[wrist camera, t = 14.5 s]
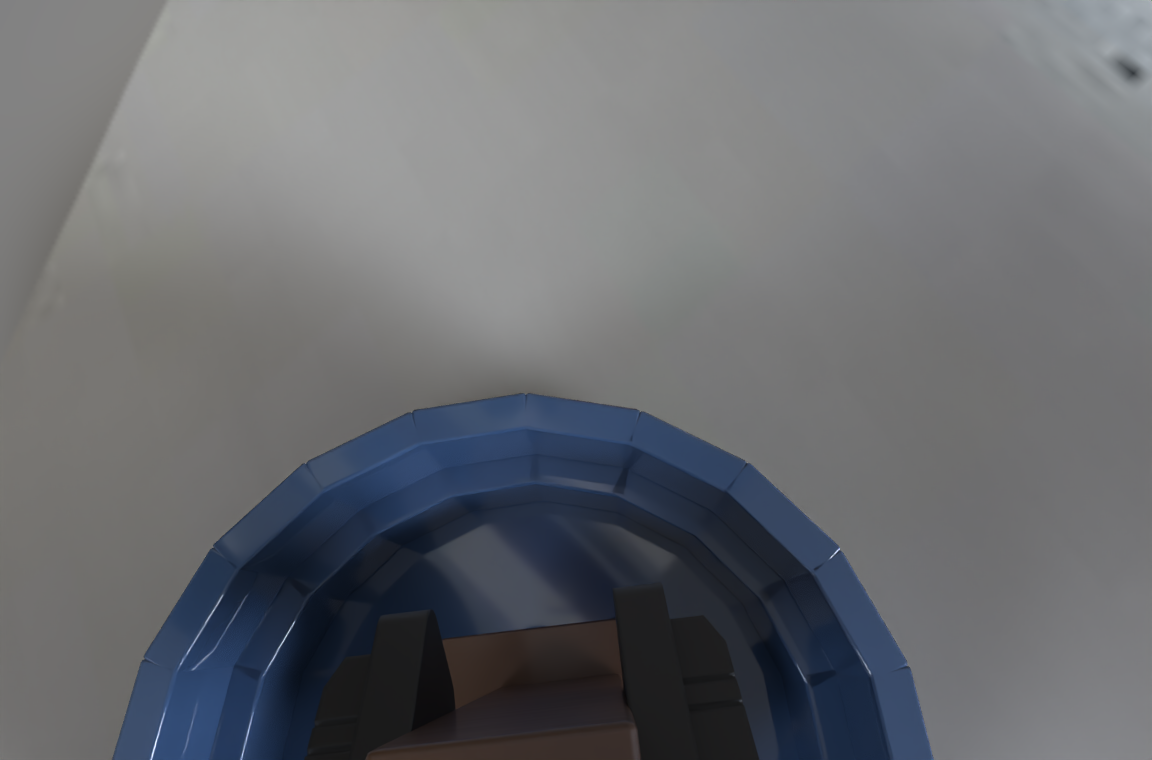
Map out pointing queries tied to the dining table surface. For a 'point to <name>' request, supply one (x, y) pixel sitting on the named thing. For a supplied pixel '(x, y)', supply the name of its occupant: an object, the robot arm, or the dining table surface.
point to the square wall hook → (530, 699)
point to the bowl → (519, 578)
